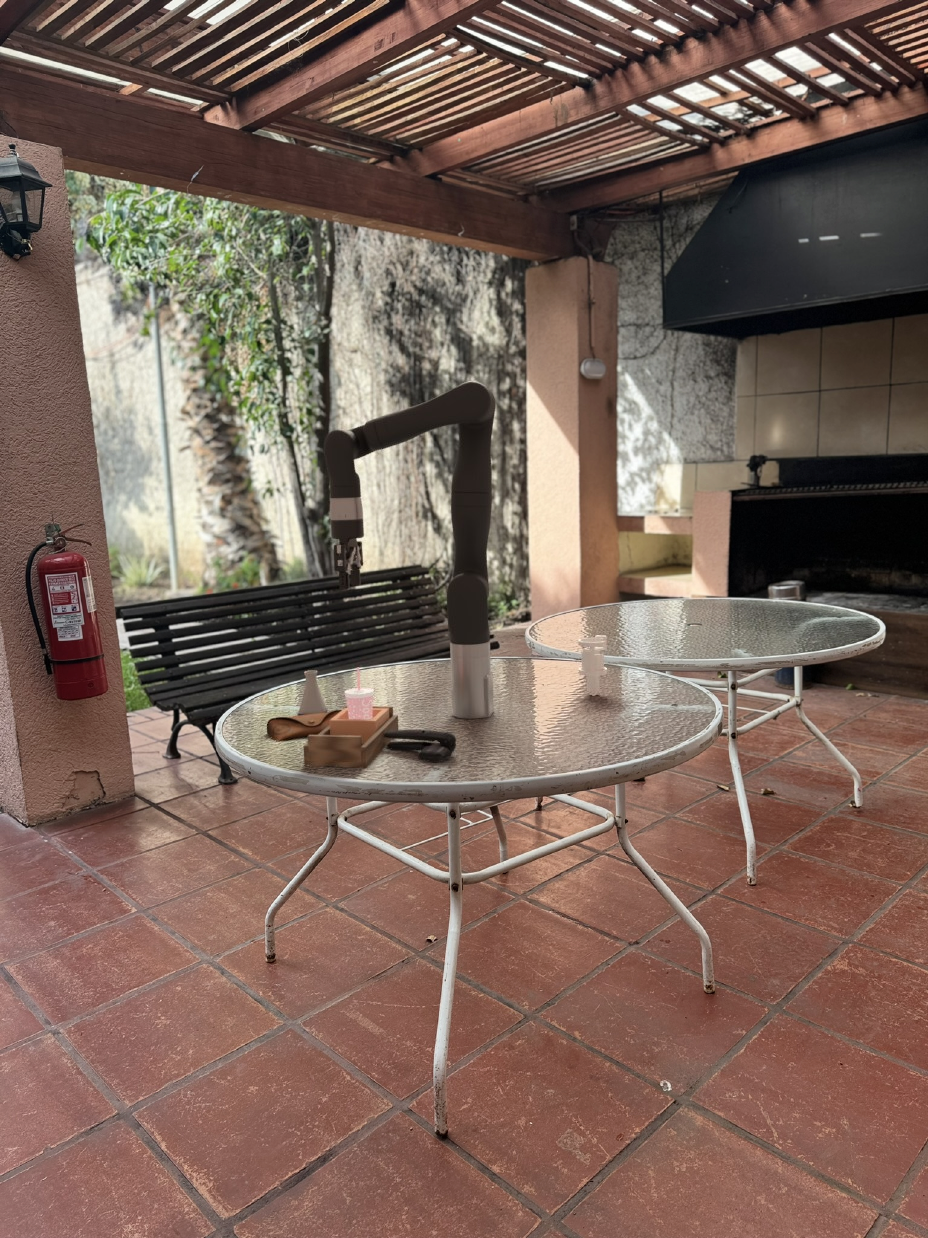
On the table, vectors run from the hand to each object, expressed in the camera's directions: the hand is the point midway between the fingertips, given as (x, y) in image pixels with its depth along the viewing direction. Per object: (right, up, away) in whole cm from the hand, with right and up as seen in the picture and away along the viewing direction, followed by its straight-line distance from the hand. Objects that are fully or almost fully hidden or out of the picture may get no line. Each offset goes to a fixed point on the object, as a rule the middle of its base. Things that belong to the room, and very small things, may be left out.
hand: (350, 587), depth 209 cm
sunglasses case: (-7, -33, -11) cm, 36 cm away
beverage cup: (+5, -32, -21) cm, 38 cm away
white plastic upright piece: (+59, -27, +15) cm, 66 cm away
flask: (-10, -30, +7) cm, 32 cm away
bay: (+4, -34, -25) cm, 43 cm away
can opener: (+18, -35, -30) cm, 49 cm away
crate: (+5, -32, -21) cm, 39 cm away
